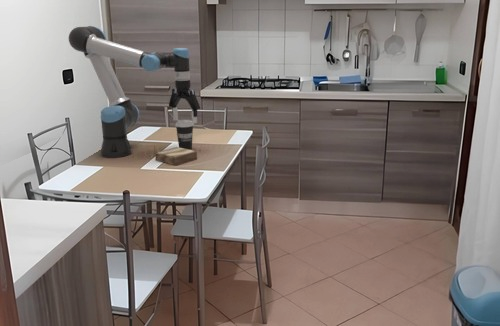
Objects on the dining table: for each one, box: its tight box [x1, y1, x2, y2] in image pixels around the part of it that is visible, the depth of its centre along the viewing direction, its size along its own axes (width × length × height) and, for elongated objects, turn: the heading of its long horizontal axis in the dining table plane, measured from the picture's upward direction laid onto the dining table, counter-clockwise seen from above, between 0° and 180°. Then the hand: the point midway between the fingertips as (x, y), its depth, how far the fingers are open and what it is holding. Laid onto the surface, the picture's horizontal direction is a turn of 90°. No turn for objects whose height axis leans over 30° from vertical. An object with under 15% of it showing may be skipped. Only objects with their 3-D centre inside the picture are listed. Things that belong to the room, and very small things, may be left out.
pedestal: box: [154, 146, 198, 166], centre depth 236 cm, size 14×14×4 cm
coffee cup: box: [174, 119, 195, 150], centre depth 252 cm, size 10×10×15 cm
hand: (185, 121), depth 250 cm, fingers open, 13 cm apart
